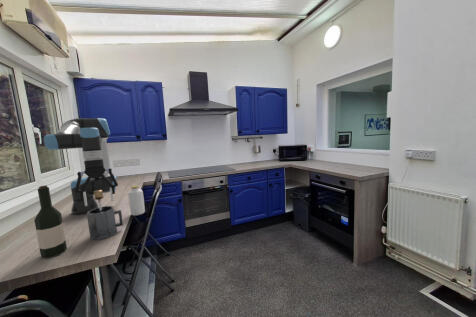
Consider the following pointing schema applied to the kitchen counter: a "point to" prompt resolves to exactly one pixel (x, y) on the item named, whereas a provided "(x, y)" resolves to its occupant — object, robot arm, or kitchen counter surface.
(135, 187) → the white rounded cylinder
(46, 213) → the wine bottle
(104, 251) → the kitchen counter surface
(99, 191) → the plunger
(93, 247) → the kitchen counter surface
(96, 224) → the dark grey mug
